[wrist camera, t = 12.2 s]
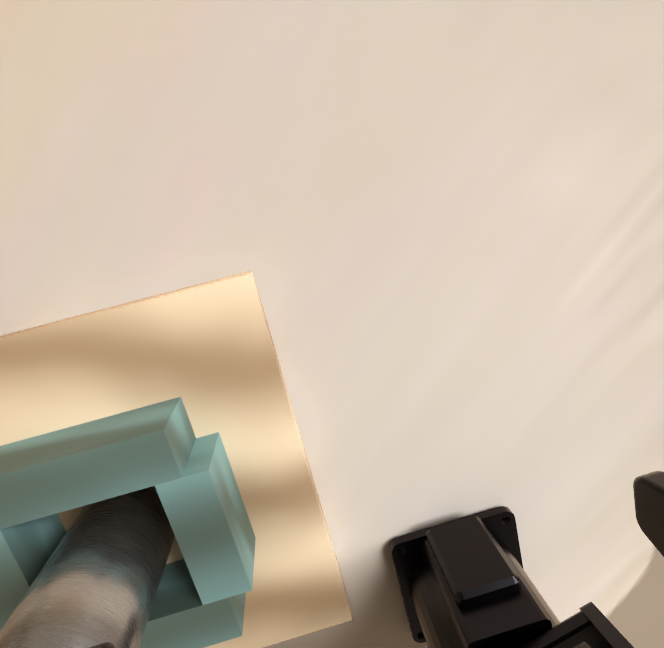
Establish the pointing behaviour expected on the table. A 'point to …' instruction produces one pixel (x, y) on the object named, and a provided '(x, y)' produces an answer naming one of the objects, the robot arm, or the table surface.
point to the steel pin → (97, 578)
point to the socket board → (217, 398)
